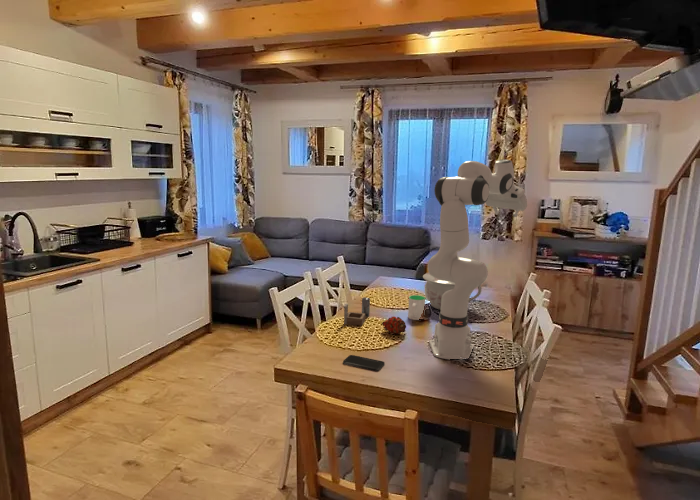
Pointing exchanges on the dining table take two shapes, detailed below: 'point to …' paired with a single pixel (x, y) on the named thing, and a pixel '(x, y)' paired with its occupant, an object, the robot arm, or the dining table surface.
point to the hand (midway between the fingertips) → (506, 215)
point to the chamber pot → (440, 290)
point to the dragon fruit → (394, 325)
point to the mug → (416, 306)
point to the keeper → (353, 317)
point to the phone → (364, 363)
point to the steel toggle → (366, 306)
